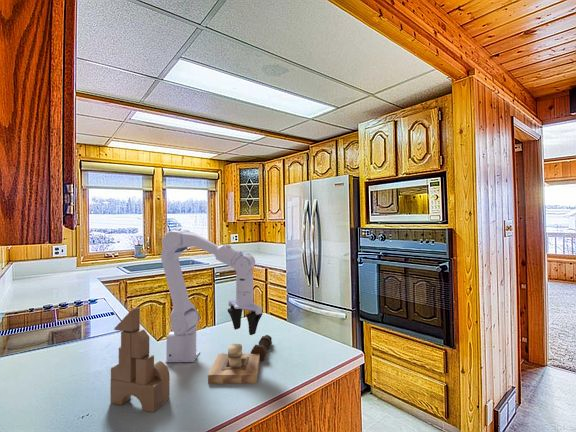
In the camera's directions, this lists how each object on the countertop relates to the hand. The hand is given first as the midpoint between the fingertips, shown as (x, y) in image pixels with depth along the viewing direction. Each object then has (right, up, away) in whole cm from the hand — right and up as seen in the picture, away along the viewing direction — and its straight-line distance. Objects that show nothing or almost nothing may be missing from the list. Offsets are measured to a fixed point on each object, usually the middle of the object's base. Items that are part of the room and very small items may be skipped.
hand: (244, 331), depth 104 cm
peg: (-2, -10, -6) cm, 12 cm away
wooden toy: (-25, -11, -21) cm, 35 cm away
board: (-2, -10, -6) cm, 12 cm away
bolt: (+6, -11, +9) cm, 15 cm away
